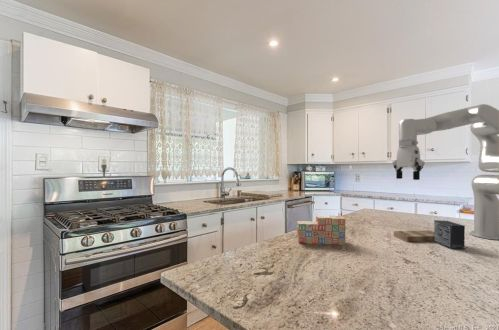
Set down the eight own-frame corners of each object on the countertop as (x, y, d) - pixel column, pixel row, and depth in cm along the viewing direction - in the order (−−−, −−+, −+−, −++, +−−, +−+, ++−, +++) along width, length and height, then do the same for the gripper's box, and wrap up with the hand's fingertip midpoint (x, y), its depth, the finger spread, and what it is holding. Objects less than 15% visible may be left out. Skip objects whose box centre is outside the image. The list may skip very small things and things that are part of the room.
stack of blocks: (298, 243, 117) (298, 217, 117) (297, 239, 123) (297, 214, 123) (345, 245, 115) (345, 218, 115) (341, 240, 121) (341, 215, 121)
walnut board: (430, 235, 130) (430, 230, 130) (446, 241, 120) (446, 235, 120) (393, 236, 129) (393, 231, 129) (407, 242, 119) (407, 236, 119)
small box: (466, 249, 108) (466, 225, 108) (450, 249, 109) (450, 225, 109) (447, 242, 119) (447, 220, 119) (433, 241, 119) (433, 219, 119)
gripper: (430, 143, 116) (430, 180, 116) (399, 145, 133) (399, 178, 133) (417, 142, 114) (417, 180, 114) (387, 145, 131) (387, 178, 131)
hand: (407, 179), depth 123 cm, fingers open, 9 cm apart
